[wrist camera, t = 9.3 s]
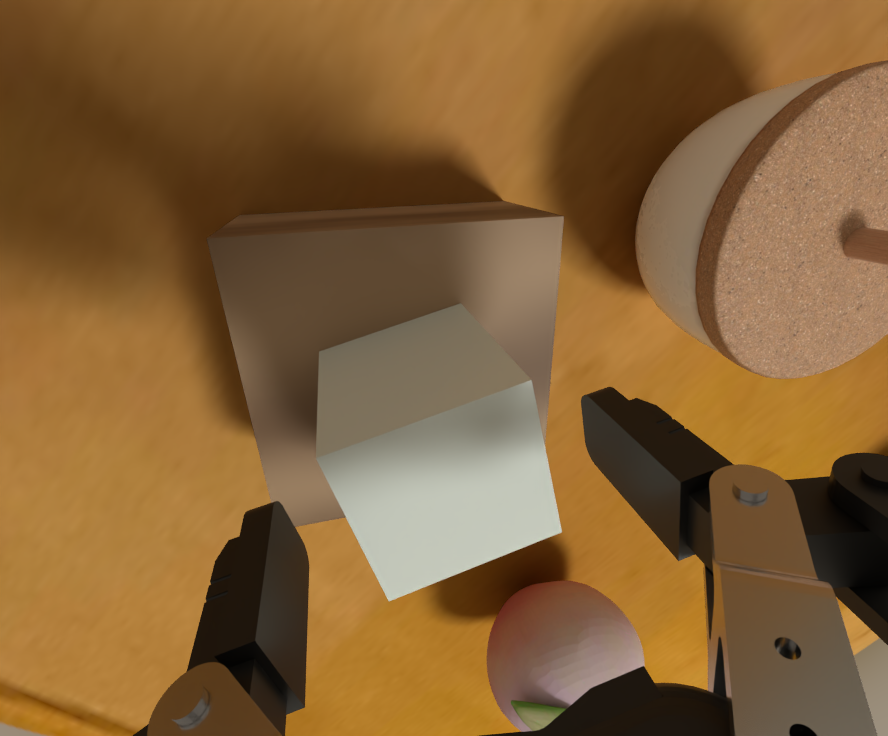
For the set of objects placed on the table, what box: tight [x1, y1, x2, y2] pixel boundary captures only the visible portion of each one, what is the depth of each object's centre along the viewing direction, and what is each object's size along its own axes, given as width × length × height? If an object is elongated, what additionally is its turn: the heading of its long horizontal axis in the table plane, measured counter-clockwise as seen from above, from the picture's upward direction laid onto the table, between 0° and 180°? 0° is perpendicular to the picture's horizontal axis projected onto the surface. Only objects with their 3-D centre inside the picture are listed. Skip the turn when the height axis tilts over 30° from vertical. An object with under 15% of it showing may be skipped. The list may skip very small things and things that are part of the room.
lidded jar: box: [635, 61, 888, 379], centre depth 18 cm, size 11×11×9 cm
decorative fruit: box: [487, 581, 644, 732], centre depth 27 cm, size 9×8×10 cm
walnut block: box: [207, 201, 564, 527], centre depth 19 cm, size 11×11×6 cm
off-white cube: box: [316, 303, 562, 601], centre depth 14 cm, size 5×5×6 cm
